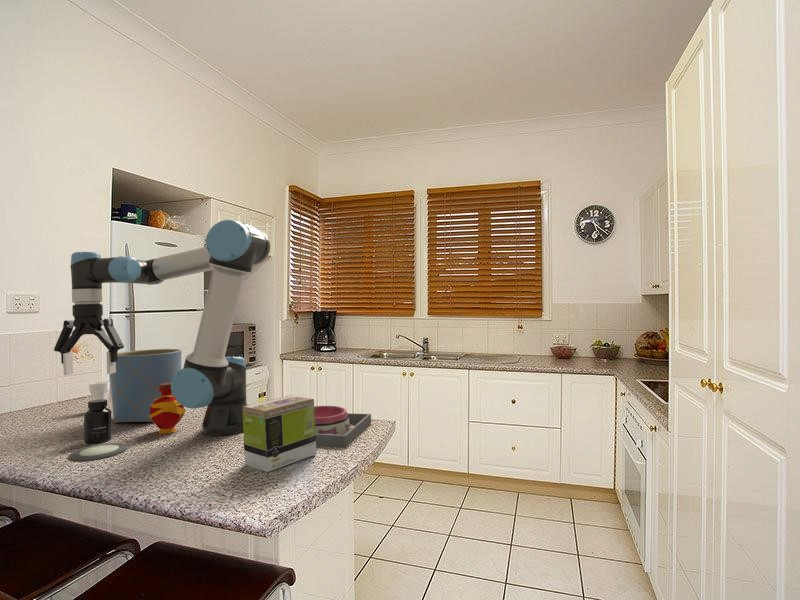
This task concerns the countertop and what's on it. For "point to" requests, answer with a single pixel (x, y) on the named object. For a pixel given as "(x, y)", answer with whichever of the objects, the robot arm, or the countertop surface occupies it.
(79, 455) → the plate
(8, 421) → the countertop surface
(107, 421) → the supplement bottle
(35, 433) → the countertop surface
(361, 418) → the bowl mat frame
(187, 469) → the countertop surface
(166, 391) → the potion bottle
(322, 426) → the dog bowl
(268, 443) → the tea box
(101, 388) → the cup
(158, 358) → the planter
